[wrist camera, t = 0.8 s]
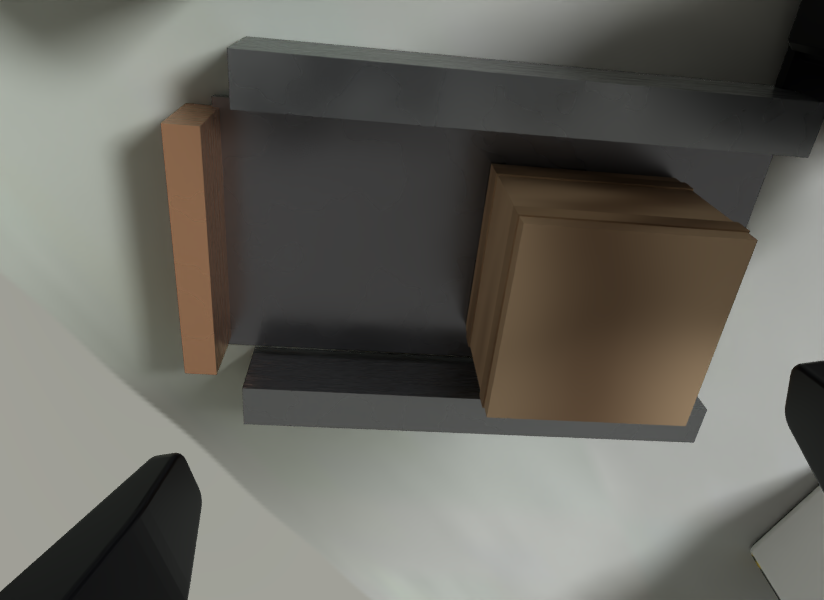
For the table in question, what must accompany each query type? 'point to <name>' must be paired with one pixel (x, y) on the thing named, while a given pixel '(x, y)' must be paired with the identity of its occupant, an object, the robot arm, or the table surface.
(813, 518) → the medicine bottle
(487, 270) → the brown block
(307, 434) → the table surface
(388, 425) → the bay
